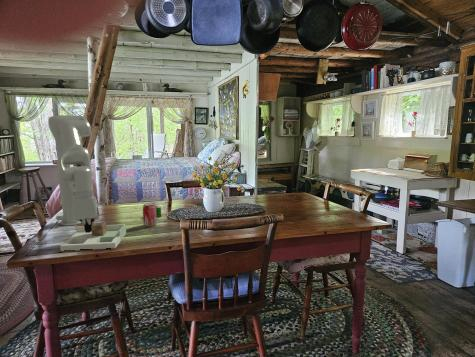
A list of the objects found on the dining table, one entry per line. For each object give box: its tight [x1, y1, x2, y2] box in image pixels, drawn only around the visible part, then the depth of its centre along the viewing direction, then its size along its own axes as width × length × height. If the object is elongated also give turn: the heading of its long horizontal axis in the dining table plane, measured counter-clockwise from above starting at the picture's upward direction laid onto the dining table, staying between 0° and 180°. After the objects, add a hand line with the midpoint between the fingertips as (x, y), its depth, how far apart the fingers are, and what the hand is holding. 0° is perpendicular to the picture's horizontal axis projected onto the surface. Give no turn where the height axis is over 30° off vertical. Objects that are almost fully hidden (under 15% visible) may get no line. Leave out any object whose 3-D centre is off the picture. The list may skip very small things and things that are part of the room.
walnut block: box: [91, 221, 107, 236], centre depth 146 cm, size 5×5×5 cm
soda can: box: [142, 202, 158, 227], centre depth 166 cm, size 7×7×12 cm
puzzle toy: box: [155, 204, 162, 218], centre depth 183 cm, size 6×6×6 cm
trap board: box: [60, 223, 127, 252], centre depth 143 cm, size 23×19×5 cm
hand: (88, 231), depth 146 cm, fingers closed
